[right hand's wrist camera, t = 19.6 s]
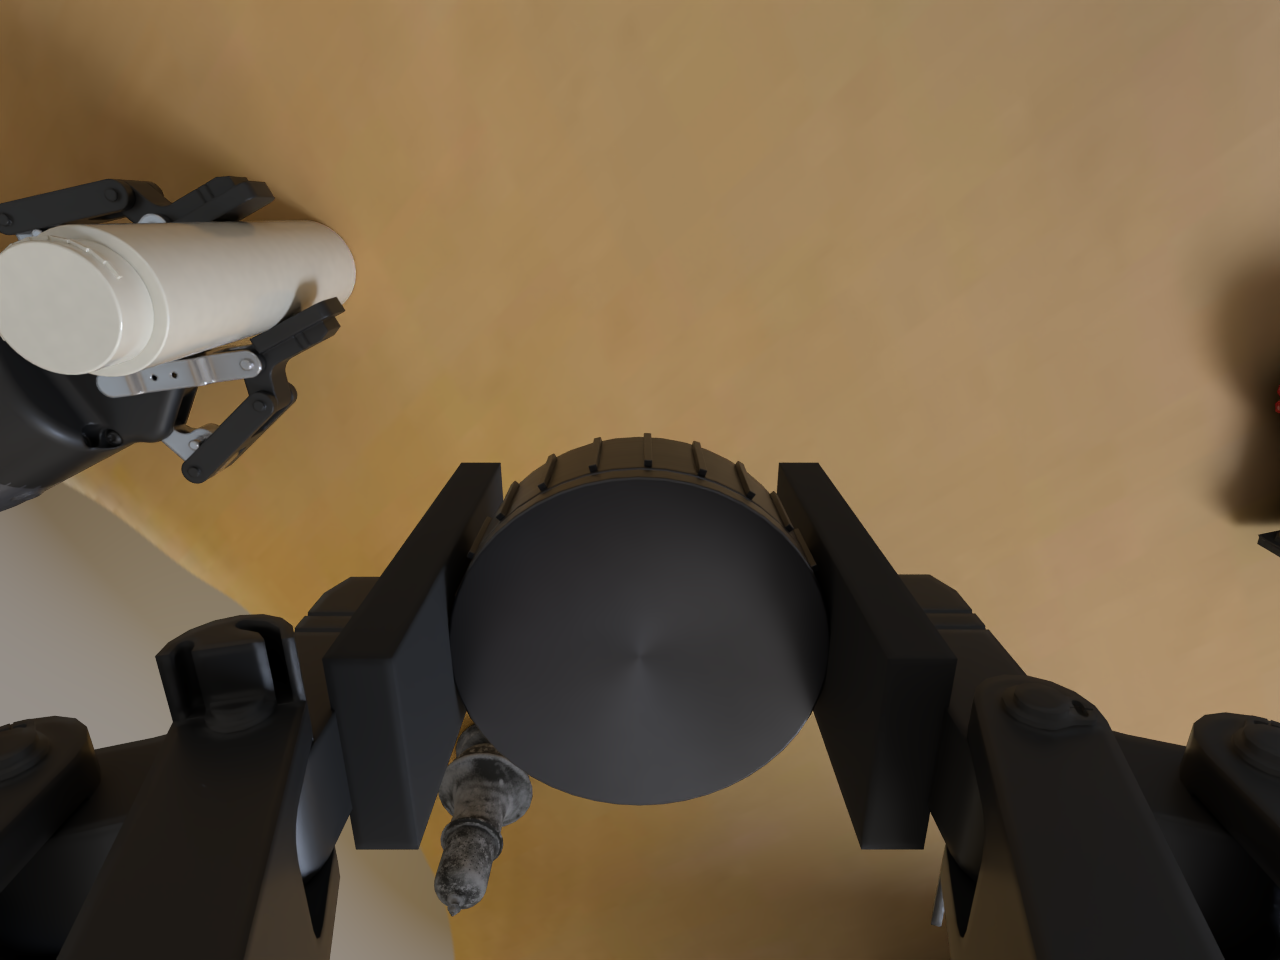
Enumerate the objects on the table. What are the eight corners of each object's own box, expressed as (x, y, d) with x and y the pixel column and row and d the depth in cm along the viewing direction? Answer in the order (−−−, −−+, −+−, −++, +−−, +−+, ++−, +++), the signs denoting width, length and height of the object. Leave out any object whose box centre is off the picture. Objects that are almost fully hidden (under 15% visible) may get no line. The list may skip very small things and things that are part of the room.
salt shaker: (475, 796, 50) (427, 967, 38) (436, 731, 48) (373, 891, 37) (553, 772, 49) (528, 939, 38) (517, 705, 47) (479, 859, 36)
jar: (330, 206, 37) (75, 201, 20) (371, 296, 38) (166, 359, 22) (248, 238, 37) (-66, 257, 21) (292, 325, 39) (32, 408, 22)
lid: (416, 646, 12) (379, 717, 11) (568, 364, 11) (555, 394, 9) (694, 775, 13) (703, 860, 12) (875, 535, 12) (916, 591, 10)
